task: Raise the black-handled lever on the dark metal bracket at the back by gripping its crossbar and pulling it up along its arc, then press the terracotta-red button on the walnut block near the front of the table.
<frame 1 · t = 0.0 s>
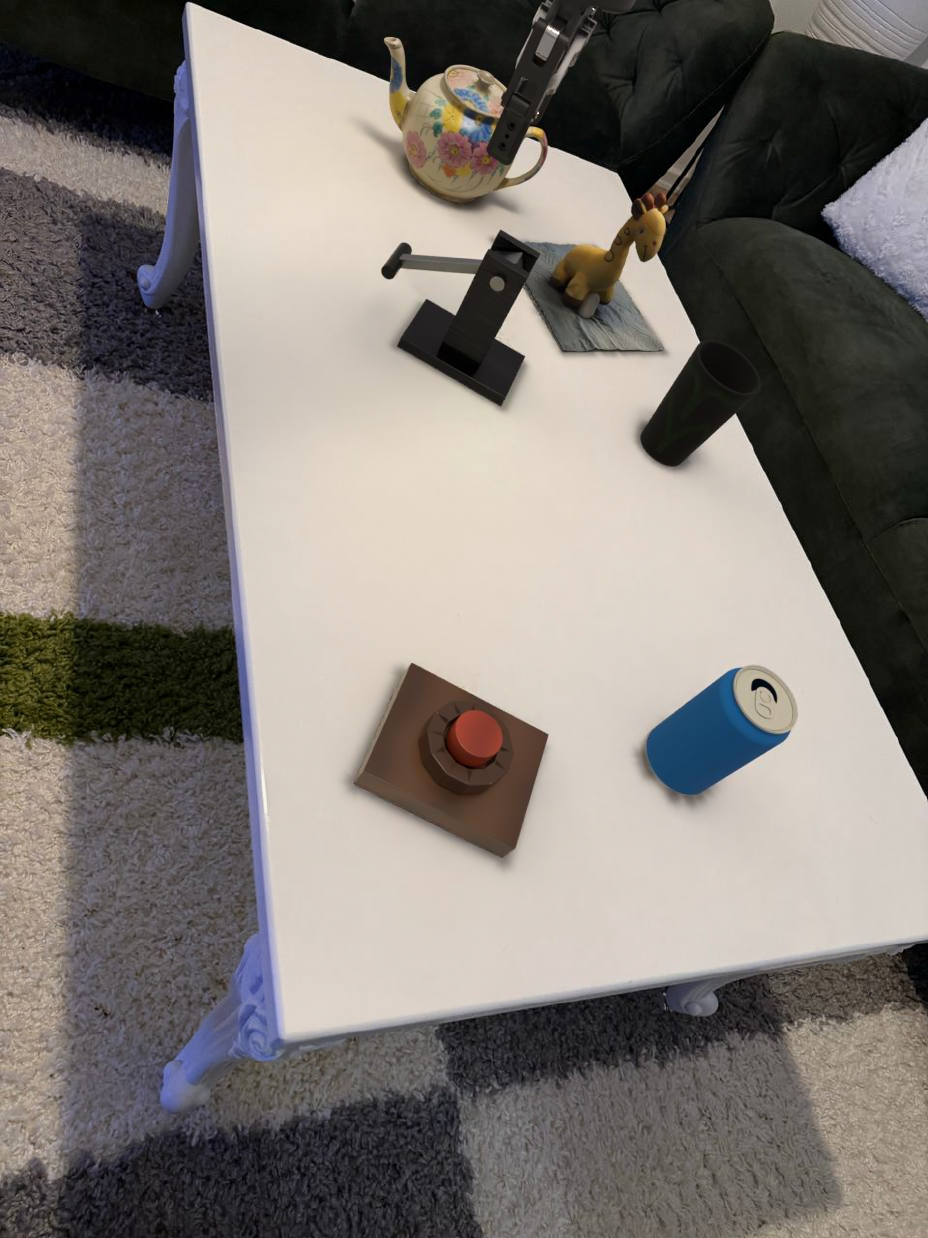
hand: (512, 137, 70), 24 cm above the table, tool pointing down, fingers open, 8 cm apart
teapot: (437, 178, 109), on the table
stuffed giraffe: (579, 298, 107), on the table
lever: (453, 264, 85), point 9 cm above the table, hinge at -28.0°
beverage can: (672, 763, 74), on the table
bracket: (460, 355, 92), on the table
cup: (661, 447, 97), on the table
button: (474, 738, 62), point 5 cm above the table, slide at 0.2 cm
button block: (450, 763, 66), on the table
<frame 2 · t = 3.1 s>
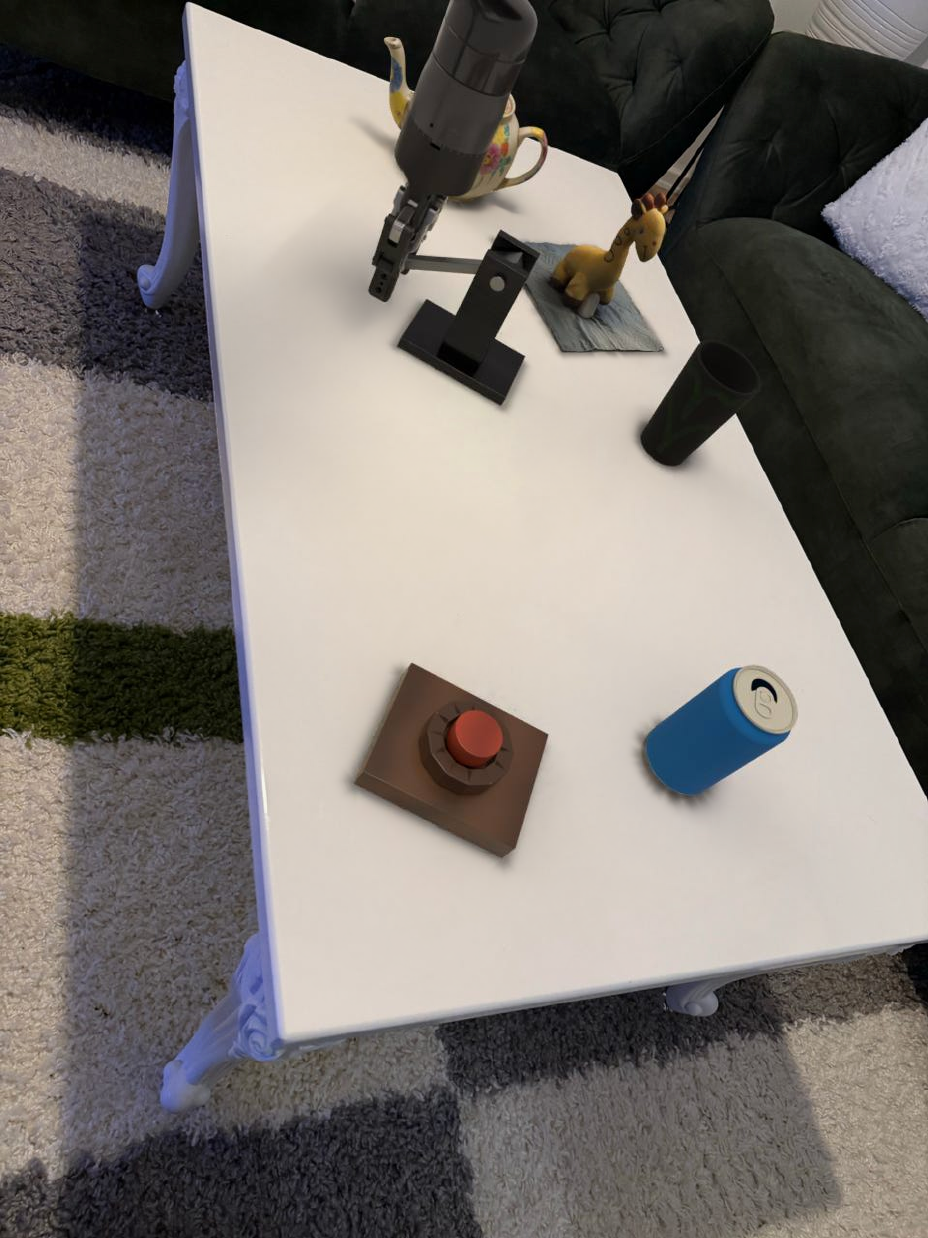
hand: (388, 282, 88), 3 cm above the table, tool pointing down, fingers closed on lever, 5 cm apart
lever: (453, 264, 85), point 9 cm above the table, hinge at -28.1°, touching gripper
everything else where it was.
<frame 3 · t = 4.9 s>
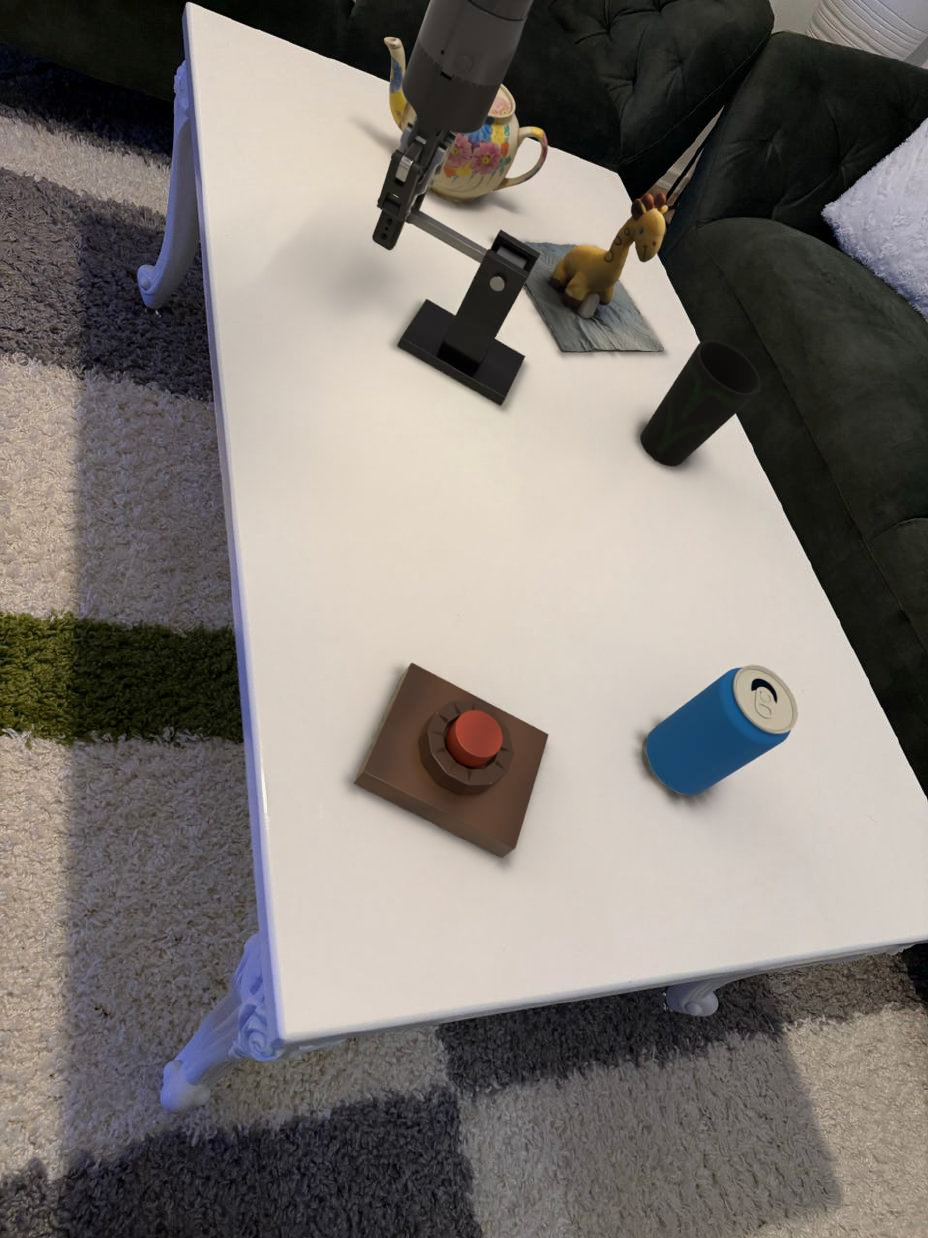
hand: (393, 230, 84), 8 cm above the table, tool pointing down, fingers closed on lever, 5 cm apart
lever: (457, 241, 83), point 11 cm above the table, hinge at -0.9°, touching gripper
everything else where it was.
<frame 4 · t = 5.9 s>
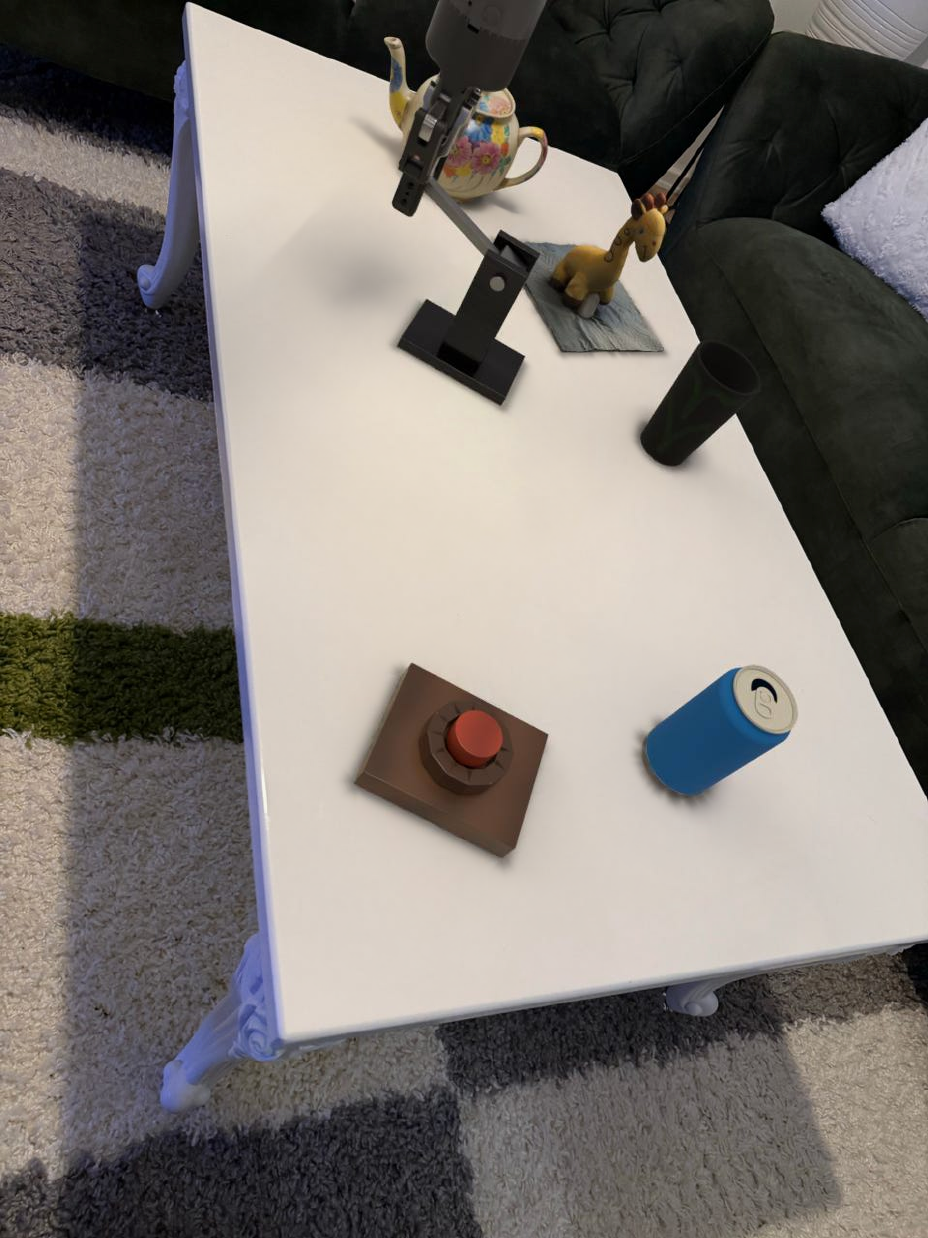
hand: (412, 196, 81), 12 cm above the table, tool pointing down, fingers closed on lever, 5 cm apart
lever: (467, 226, 81), point 13 cm above the table, hinge at 18.9°, touching gripper
everything else where it was.
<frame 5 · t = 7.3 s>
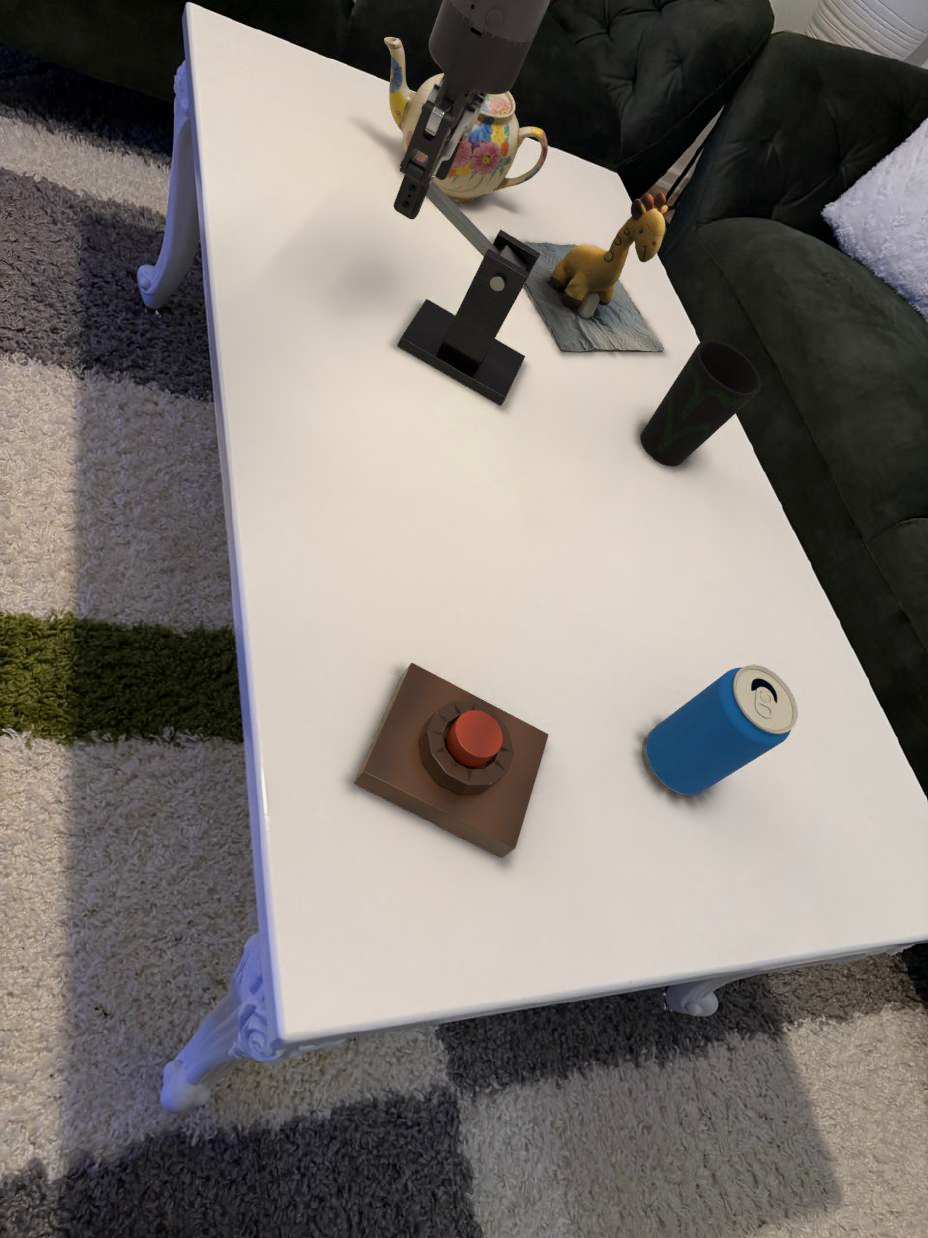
hand: (420, 193, 80), 13 cm above the table, tool pointing down, fingers open, 8 cm apart
lever: (466, 227, 82), point 13 cm above the table, hinge at 17.4°
everything else where it was.
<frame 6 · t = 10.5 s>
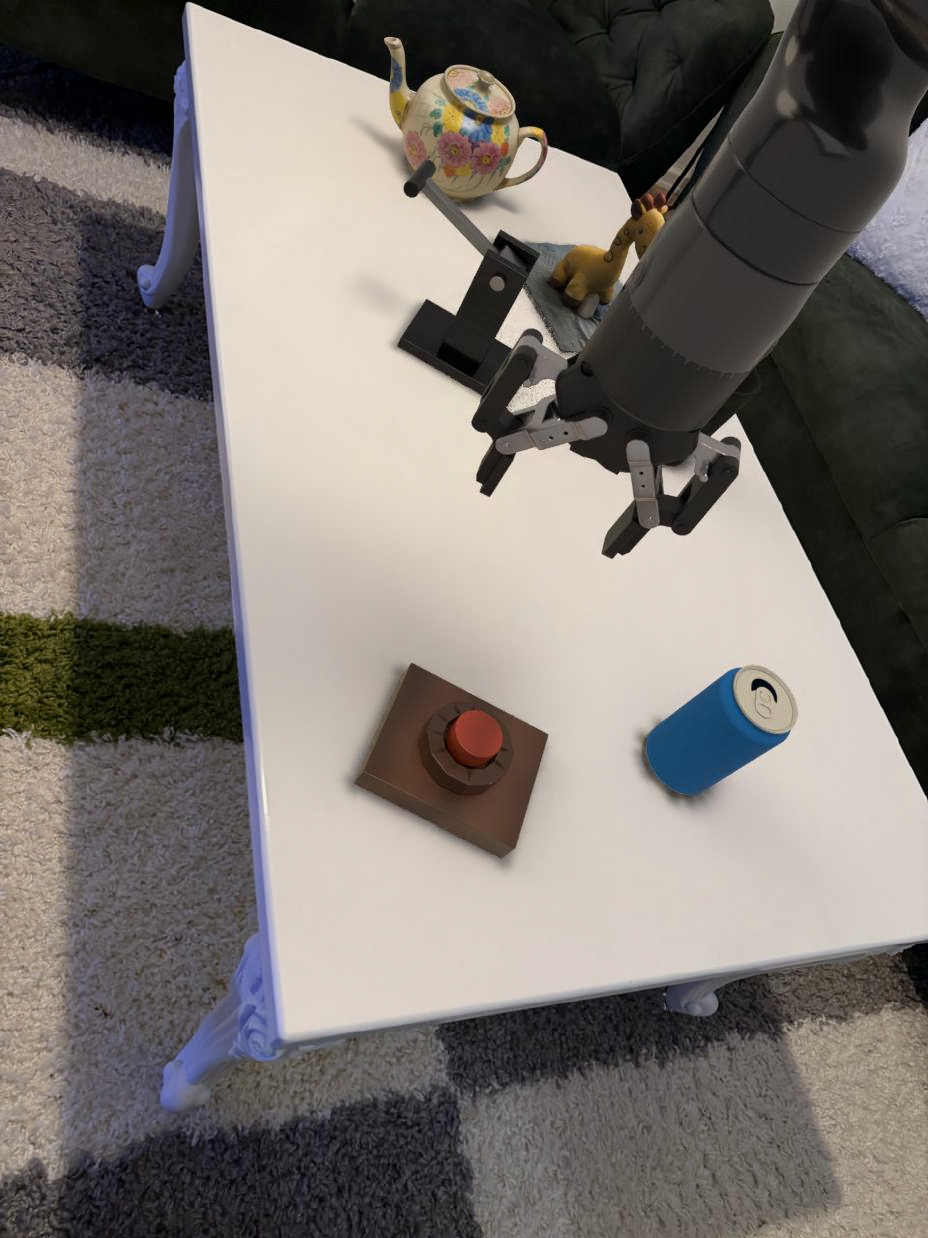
hand: (547, 517, 55), 19 cm above the table, tool pointing down, fingers open, 8 cm apart
nothing on the table moved.
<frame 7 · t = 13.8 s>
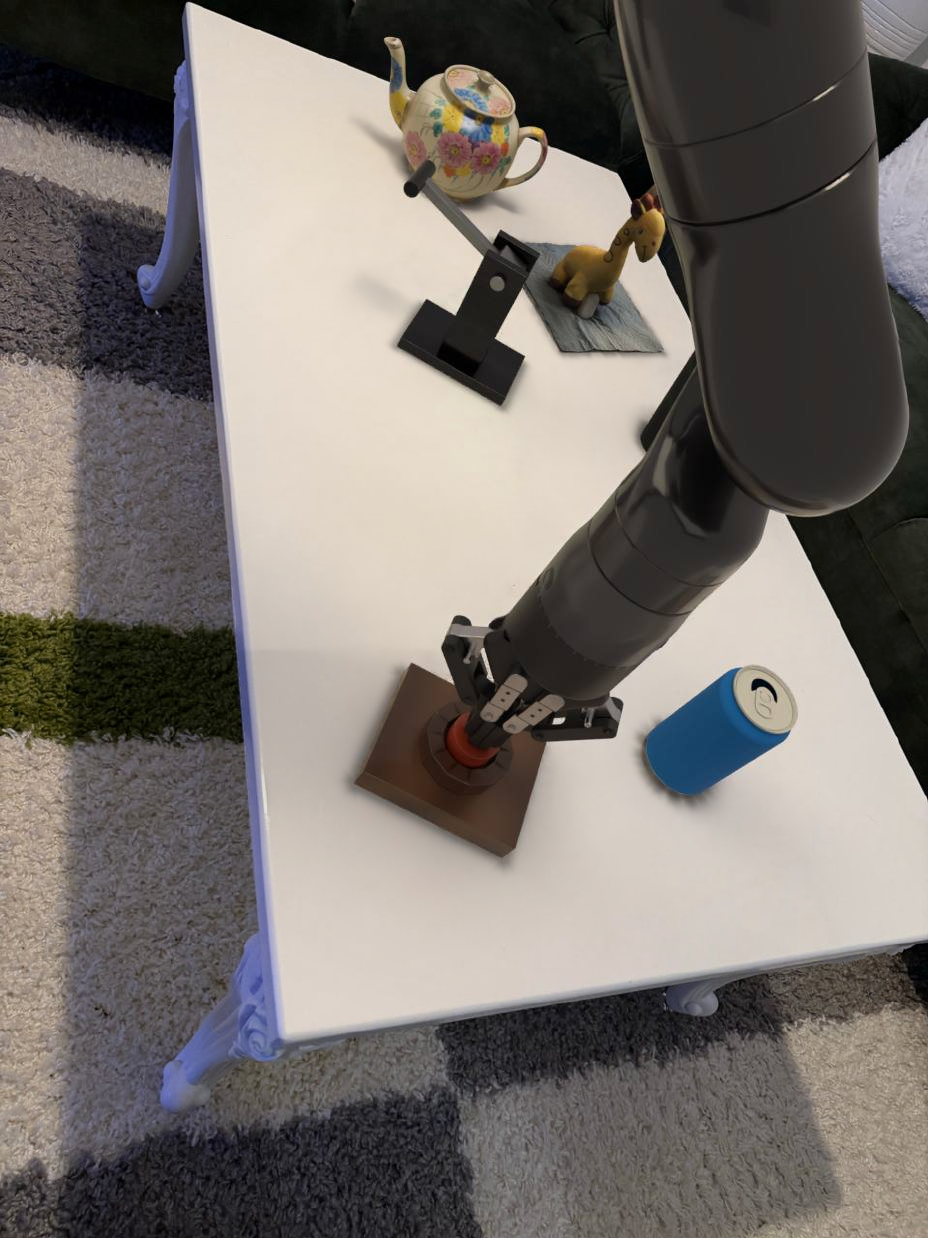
hand: (478, 735, 62), 5 cm above the table, tool pointing down, fingers closed
button: (472, 740, 62), point 4 cm above the table, slide at -0.1 cm, touching gripper
everything else where it was.
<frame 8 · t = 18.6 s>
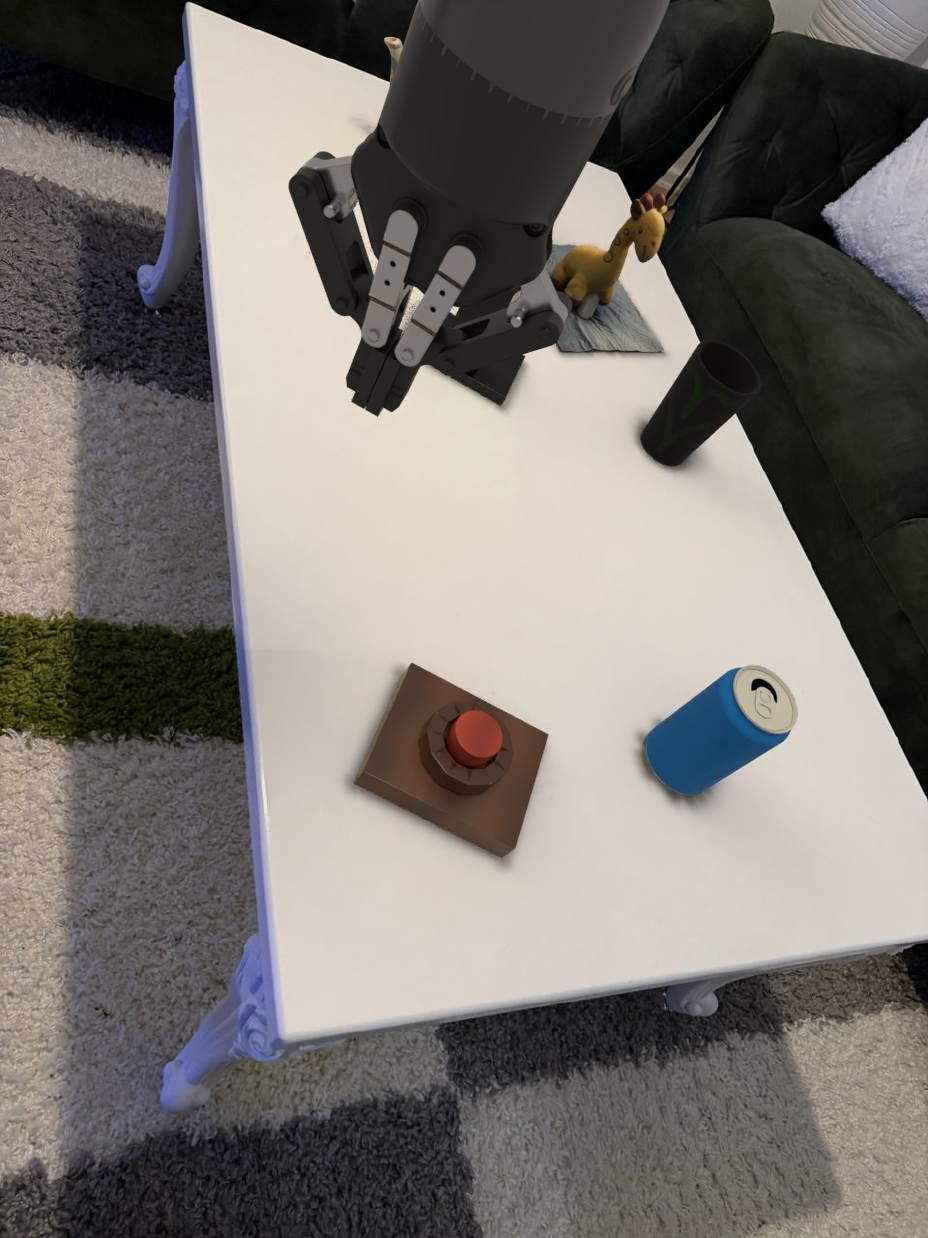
hand: (370, 399, 43), 27 cm above the table, tool pointing down, fingers closed
button: (474, 738, 62), point 5 cm above the table, slide at 0.2 cm
everything else where it was.
at the end: lever at +17° (first picture: -28°); button pushed in 1.0 cm at the most during the clip, back to 0.2 cm at the end; button slide at 0.2 cm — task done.
